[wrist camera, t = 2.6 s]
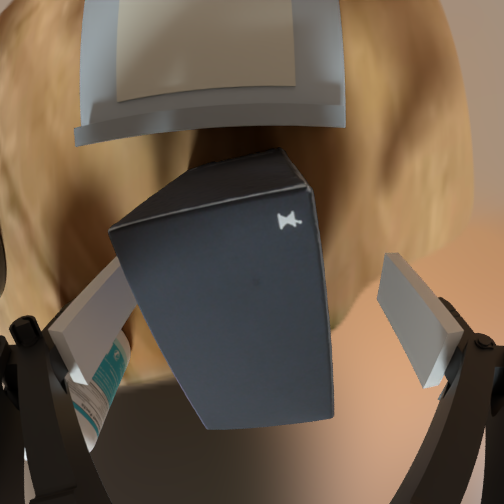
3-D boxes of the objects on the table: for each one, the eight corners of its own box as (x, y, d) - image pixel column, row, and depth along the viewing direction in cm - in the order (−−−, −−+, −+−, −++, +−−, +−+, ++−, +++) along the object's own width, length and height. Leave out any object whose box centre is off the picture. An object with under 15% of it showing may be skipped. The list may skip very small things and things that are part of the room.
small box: (179, 169, 17) (92, 226, 8) (284, 145, 17) (321, 172, 7) (222, 312, 21) (201, 435, 12) (311, 296, 21) (341, 419, 11)
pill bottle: (72, 354, 24) (13, 457, 12) (56, 294, 21) (-33, 402, 9) (138, 373, 25) (92, 496, 12) (130, 312, 22) (55, 456, 9)
